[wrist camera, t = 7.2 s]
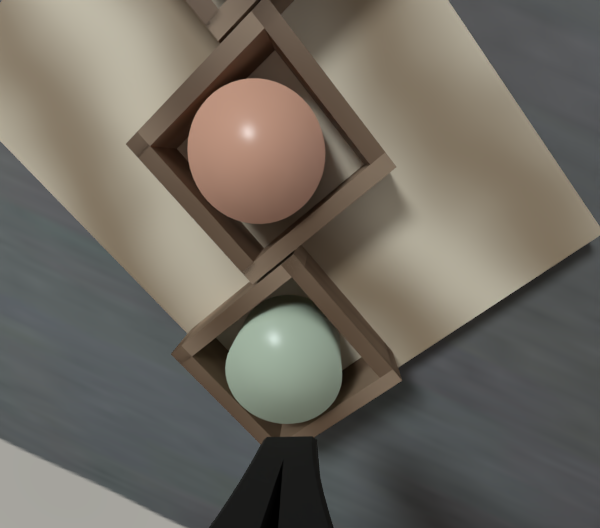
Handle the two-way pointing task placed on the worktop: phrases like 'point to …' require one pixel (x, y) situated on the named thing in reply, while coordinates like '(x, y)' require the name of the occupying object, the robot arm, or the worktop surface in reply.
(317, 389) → the sage button
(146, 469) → the worktop surface
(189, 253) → the button panel
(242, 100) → the terracotta button
